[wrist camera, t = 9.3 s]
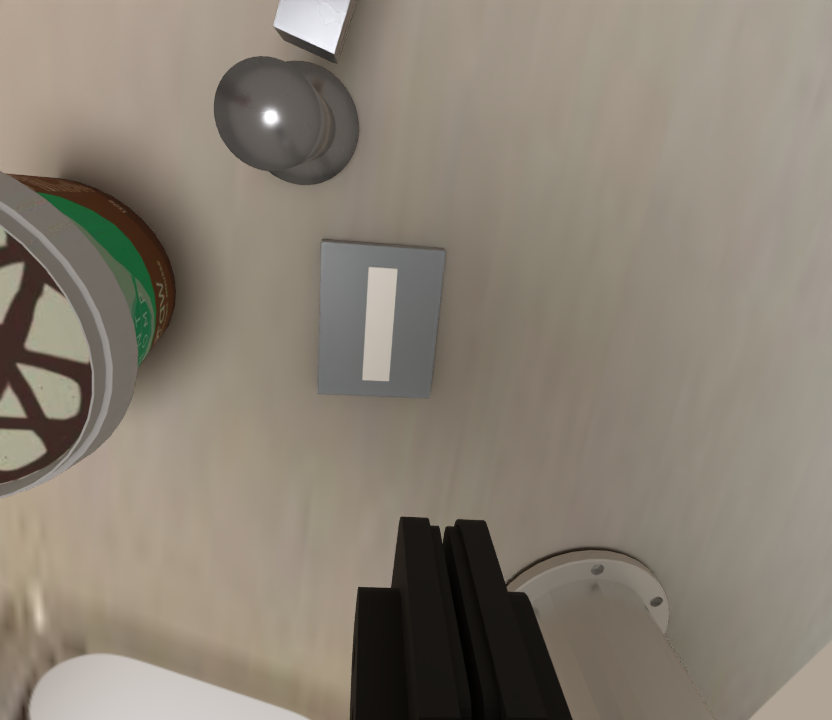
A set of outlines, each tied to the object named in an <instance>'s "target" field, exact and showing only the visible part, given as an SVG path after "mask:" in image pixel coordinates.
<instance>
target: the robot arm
mask: <svg viewBox="0 0 832 720" xmlns="http://www.w3.org/2000/svg"><path fill="white" fill-rule="evenodd" d="M668 621H669V603H668V600H667V596H666V593H665V591H664V590H663V588H662V587H661V585H660V583H659V582H658V580H657V579H656V577H655V576H654V575H653V574H652V572H651V571H650V570H649V569H648V568H647V567H645V566H644V565H643V564H641V563H640V562H639V561H637V560H635V559H633V558H631V557H628V556H626V555H624V554H620V553H615V552H611V551H601V550H586V551H576V552H570V553H566V554H562V555H559V556H555V557H552V558H550V559H547V560H545V561H543V562H540V563H538V564H536V565H535V566H533V567H531V568H530V569H528V570H526V571H525V572H523V573H522V574H520V575H519V576H518V577H517V578H516V579H514V580H513V581H512V582H511V583H510V584H509V585H508V586H507V587H506V584H505V581H504V578H503V575H502V571H501V568H500V565H499V562H498V559H497V556H496V552H495V549H494V546H493V543H492V540H491V536H490V533H489V530H488V527H487V524H486V522H485V521H484V520H463V519H457V520H456V522H455V525H454V527H450V526H447V527H446V528H445V532H444V538H443V544H442V539H441V533H440V528H439V526H430V522H429V519H428V518H419V517H400V521H399V528H398V536H397V544H396V552H395V560H394V568H393V576H392V584H391V588H373V587H358V592H357V601H356V612H355V623H354V636H353V652H352V675H351V701H350V720H716V719H715V718H714V716H713V714H712V713H711V711H710V709H709V708H708V706H707V705H706V703H705V701H704V700H703V698H702V696H701V695H700V693H699V691H698V690H697V688H696V687H695V685H694V683H693V682H692V680H691V678H690V677H689V675H688V673H687V672H686V670H685V668H684V667H683V665H682V664H681V662H680V660H679V659H678V657H677V655H676V654H675V652H674V650H673V649H672V647H671V646H670V644H669V642H668V641H667V639H666V637H665V636H664V634H665V632H666V630H667V625H668Z"/></svg>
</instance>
